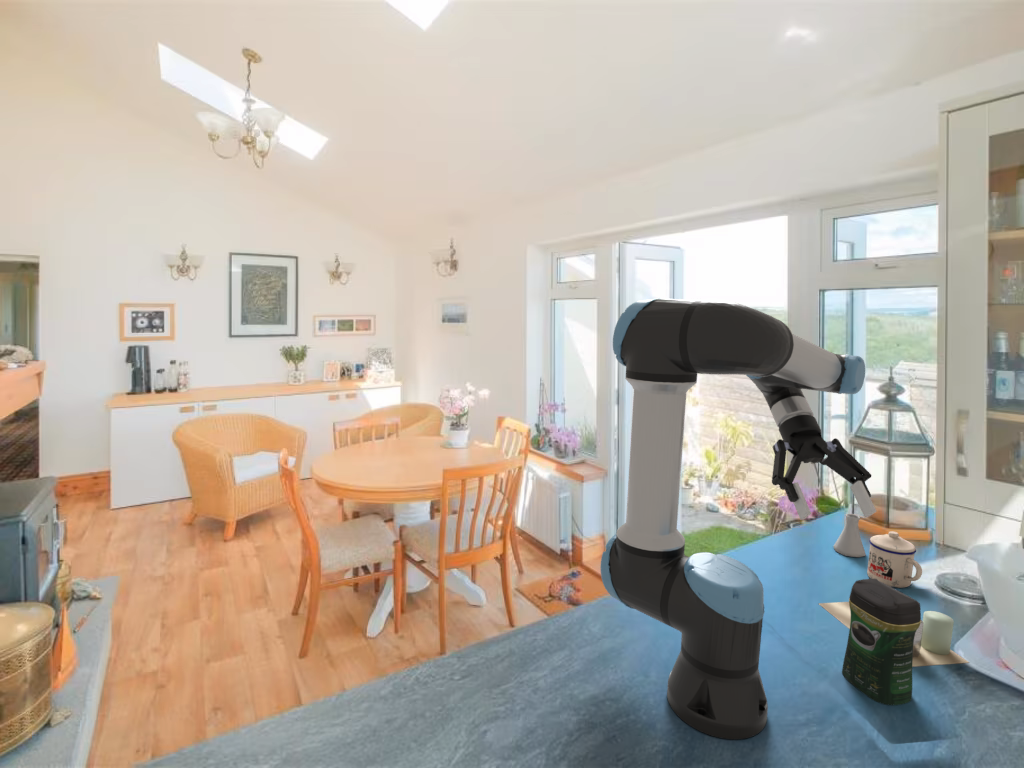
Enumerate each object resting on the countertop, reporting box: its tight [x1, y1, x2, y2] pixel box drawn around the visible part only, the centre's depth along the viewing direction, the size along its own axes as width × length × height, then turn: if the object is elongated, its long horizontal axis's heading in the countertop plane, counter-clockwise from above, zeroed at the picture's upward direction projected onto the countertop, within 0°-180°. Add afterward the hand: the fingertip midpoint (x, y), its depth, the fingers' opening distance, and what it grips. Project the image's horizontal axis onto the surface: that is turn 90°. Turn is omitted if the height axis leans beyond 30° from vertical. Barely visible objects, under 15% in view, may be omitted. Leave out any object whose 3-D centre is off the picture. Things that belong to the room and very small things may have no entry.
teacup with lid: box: [867, 531, 923, 589], centre depth 129 cm, size 12×9×12 cm
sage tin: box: [921, 610, 955, 655], centre depth 102 cm, size 4×4×6 cm
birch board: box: [818, 601, 970, 668], centre depth 108 cm, size 14×21×2 cm, turn 7°
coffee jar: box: [841, 578, 922, 706], centre depth 91 cm, size 10×8×19 cm
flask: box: [832, 513, 867, 558], centre depth 145 cm, size 7×7×10 cm
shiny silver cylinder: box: [913, 619, 924, 657], centre depth 101 cm, size 4×4×6 cm
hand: (838, 515), depth 106 cm, fingers open, 13 cm apart
